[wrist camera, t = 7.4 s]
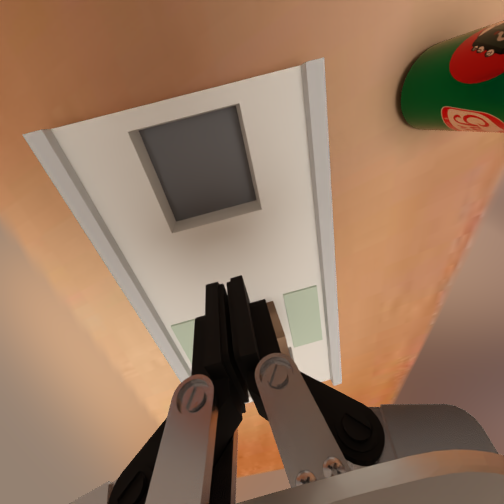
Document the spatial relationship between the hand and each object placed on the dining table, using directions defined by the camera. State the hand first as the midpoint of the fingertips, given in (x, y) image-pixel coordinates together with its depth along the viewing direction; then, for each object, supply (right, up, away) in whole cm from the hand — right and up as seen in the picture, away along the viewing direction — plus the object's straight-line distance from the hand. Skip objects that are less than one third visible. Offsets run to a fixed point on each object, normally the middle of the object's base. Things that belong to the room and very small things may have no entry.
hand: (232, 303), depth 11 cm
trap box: (0, -1, +11) cm, 11 cm away
